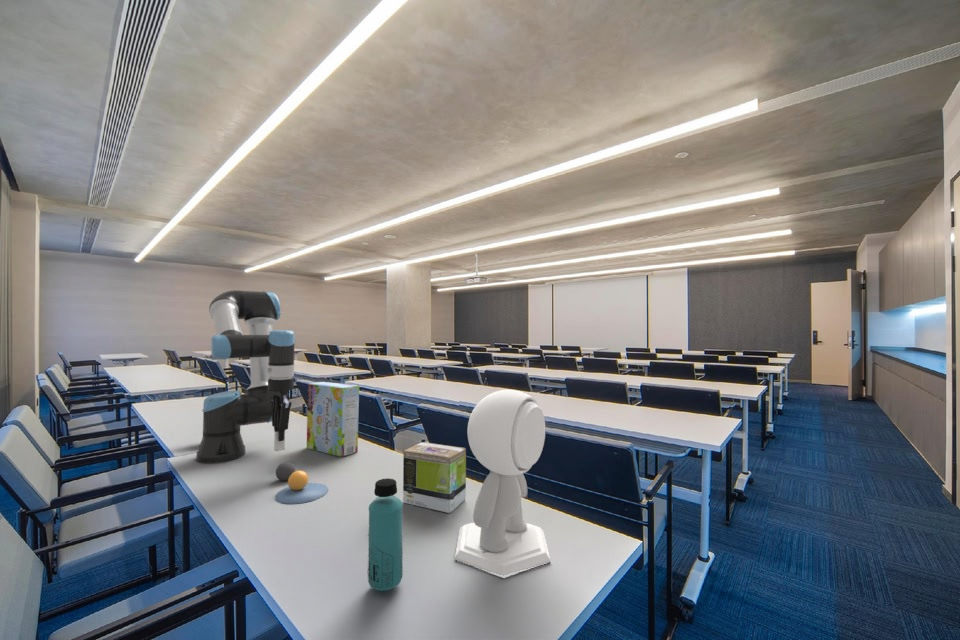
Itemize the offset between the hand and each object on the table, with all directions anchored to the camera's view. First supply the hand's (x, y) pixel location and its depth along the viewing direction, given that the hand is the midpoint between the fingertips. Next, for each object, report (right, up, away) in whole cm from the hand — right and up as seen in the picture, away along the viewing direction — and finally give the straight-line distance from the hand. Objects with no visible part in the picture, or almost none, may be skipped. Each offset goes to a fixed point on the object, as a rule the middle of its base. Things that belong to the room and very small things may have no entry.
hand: (279, 449), depth 129 cm
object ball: (+11, -5, -12) cm, 17 cm away
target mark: (+14, -8, -14) cm, 21 cm away
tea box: (+53, -9, -18) cm, 56 cm away
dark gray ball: (+4, -5, -5) cm, 8 cm away
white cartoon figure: (+70, -8, -41) cm, 82 cm away
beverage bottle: (+48, -8, -55) cm, 73 cm away
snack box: (+8, -9, +25) cm, 28 cm away
